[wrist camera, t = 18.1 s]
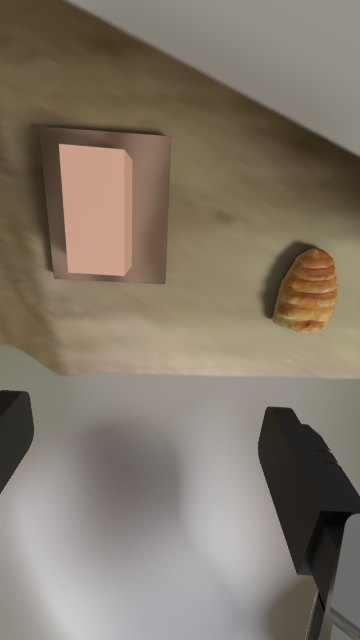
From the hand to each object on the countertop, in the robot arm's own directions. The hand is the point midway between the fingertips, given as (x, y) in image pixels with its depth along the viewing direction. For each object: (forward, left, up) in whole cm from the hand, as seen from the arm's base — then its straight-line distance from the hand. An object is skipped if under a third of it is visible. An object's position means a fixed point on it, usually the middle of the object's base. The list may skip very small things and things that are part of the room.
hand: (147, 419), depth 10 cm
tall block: (+6, -1, -20) cm, 21 cm away
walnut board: (+6, -6, -24) cm, 26 cm away
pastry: (-16, +2, -25) cm, 29 cm away
